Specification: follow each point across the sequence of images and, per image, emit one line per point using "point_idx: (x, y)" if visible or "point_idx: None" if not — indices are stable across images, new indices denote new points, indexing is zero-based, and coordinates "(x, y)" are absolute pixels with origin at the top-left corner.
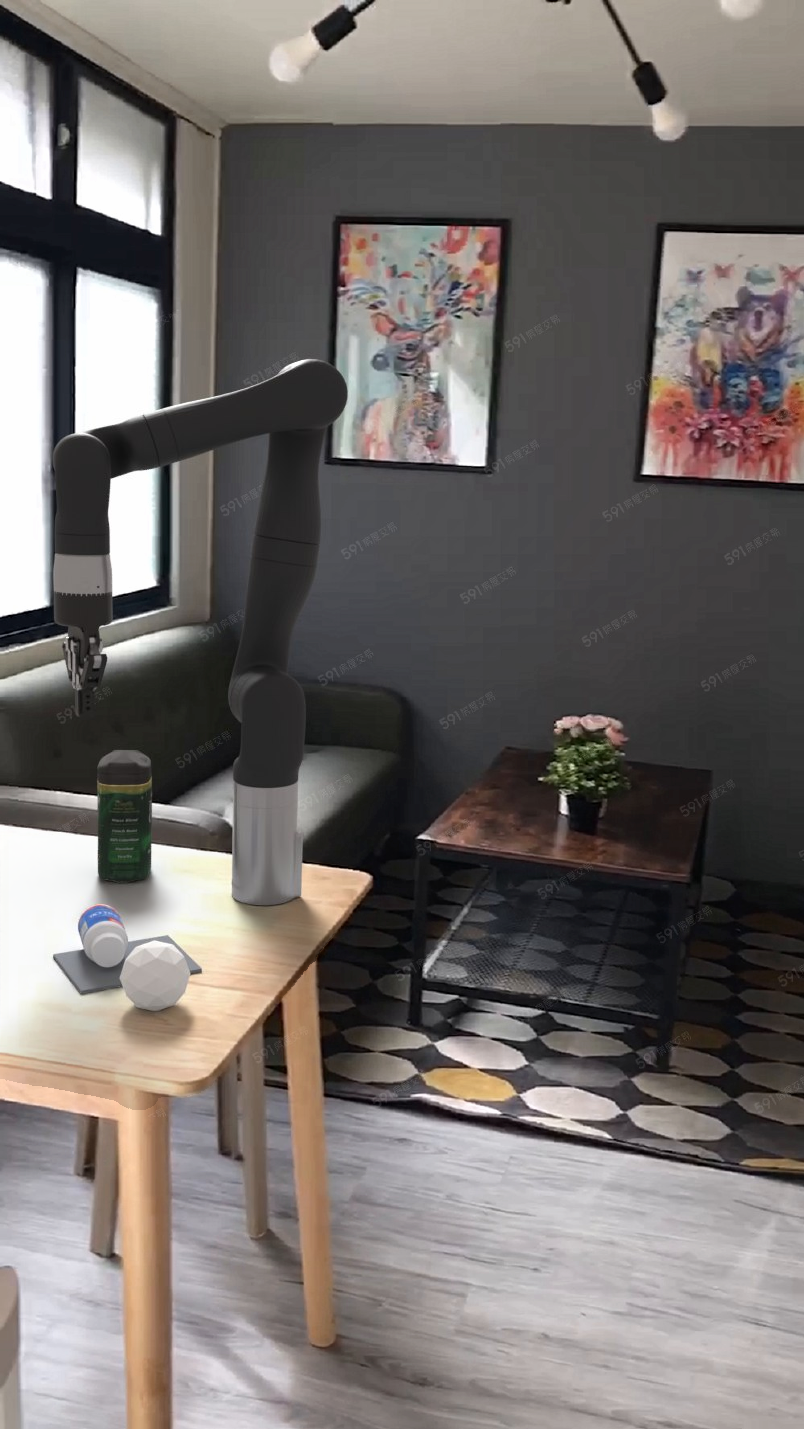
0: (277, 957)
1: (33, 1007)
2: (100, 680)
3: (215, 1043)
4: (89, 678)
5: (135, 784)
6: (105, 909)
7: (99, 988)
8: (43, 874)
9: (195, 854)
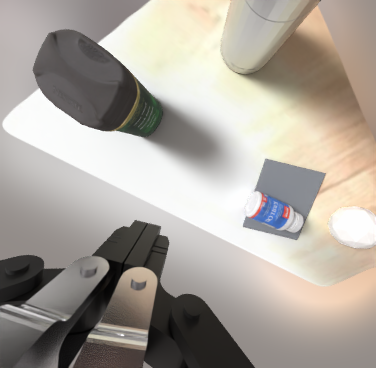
0: (346, 119)
1: (291, 262)
2: (230, 344)
3: None
4: (90, 301)
5: (136, 97)
6: (267, 210)
7: (300, 230)
8: (107, 160)
9: (126, 30)
